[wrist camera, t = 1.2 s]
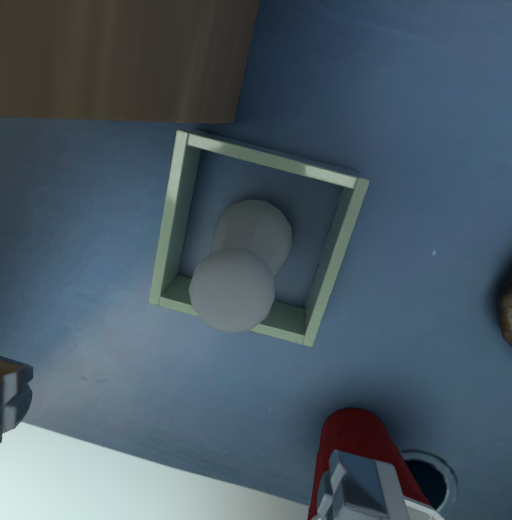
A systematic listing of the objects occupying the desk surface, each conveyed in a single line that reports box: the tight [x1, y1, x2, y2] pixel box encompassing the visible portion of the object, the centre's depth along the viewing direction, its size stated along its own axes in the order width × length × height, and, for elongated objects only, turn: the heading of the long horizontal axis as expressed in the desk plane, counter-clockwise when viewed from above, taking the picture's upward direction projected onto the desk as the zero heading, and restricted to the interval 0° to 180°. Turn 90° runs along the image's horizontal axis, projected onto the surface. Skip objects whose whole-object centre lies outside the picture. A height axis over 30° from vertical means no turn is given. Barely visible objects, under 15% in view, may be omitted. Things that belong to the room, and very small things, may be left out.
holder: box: [149, 129, 370, 347], centre depth 28 cm, size 13×13×4 cm
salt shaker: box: [189, 199, 293, 333], centre depth 24 cm, size 6×6×13 cm
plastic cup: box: [308, 408, 445, 520], centre depth 30 cm, size 11×11×12 cm
